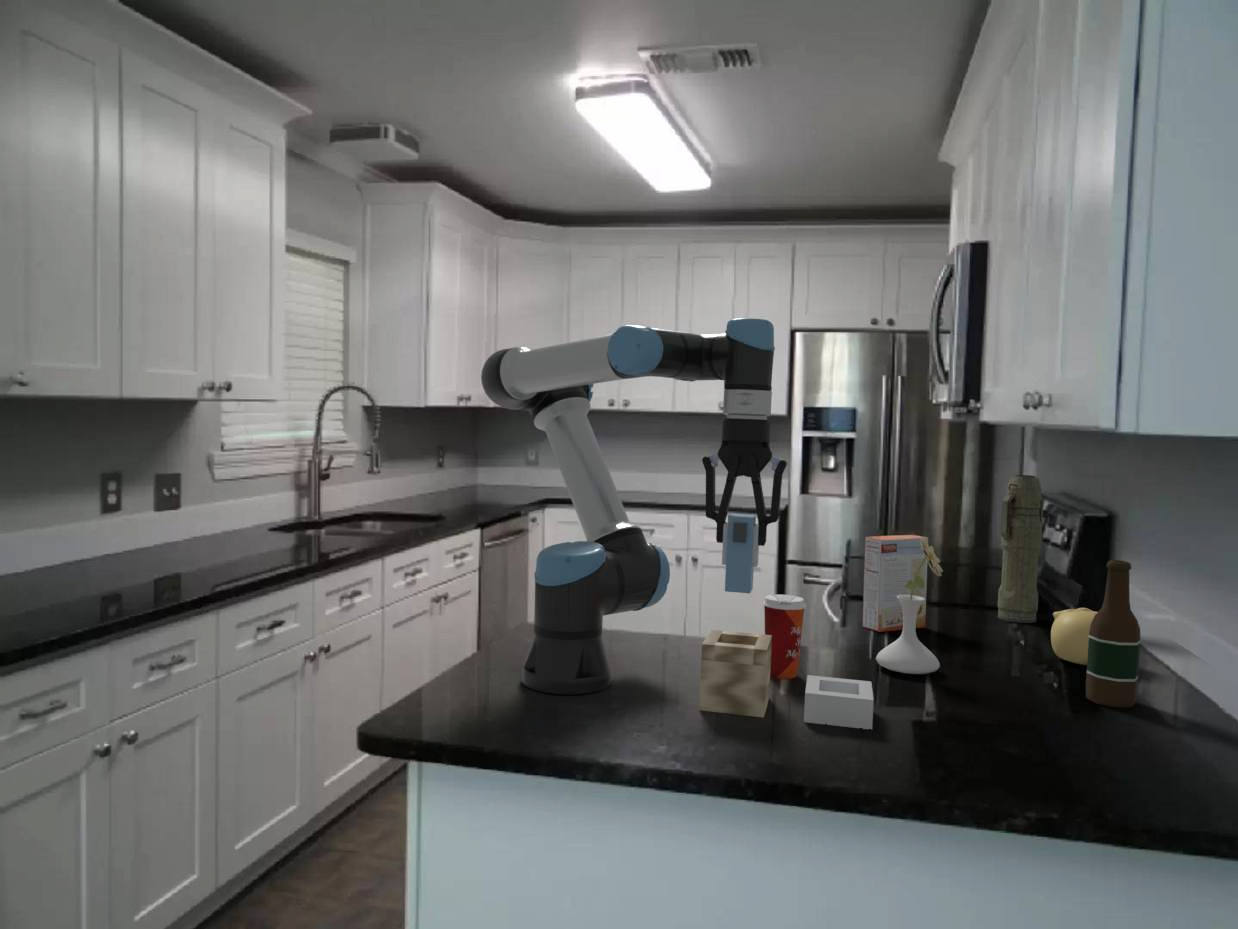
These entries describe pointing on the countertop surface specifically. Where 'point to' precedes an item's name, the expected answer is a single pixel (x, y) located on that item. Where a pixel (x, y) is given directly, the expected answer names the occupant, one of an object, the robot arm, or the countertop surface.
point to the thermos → (1020, 549)
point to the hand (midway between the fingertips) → (739, 564)
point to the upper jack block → (735, 673)
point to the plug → (739, 553)
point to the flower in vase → (912, 628)
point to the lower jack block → (839, 702)
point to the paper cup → (784, 633)
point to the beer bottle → (1114, 644)
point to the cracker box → (891, 580)
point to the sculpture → (1072, 634)
